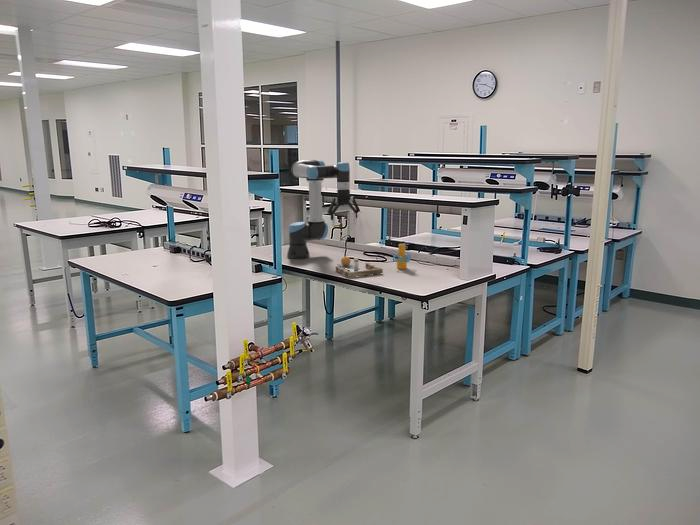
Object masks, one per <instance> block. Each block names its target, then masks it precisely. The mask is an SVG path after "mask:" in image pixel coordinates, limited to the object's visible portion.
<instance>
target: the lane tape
mask: <svg viewBox="0 0 700 525" xmlns="http://www.w3.org/2000/svg"><path fill="white" fill-rule="evenodd" d="M338 265H339V266H341V267H342V268H347V269H354V265H352V264H351V263H350V264H349V265H348V266H344V265H342V263H337V265H336V266H338ZM360 269H361V268H359V267H358V270H360Z"/></svg>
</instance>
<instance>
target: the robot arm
mask: <svg viewBox="0 0 700 525" xmlns="http://www.w3.org/2000/svg"><path fill="white" fill-rule="evenodd" d="M350 167H351V166H350V163H349V162H344V161H343V162H337V164H332V165H326V164H325V162H324V161H323V160H321V159H308V160H298V161H295V162H294V163H293V164H292V165H291V169H290V170H291V174H292V175H293V176H294V177H296V178H299V179H305V181H307V183H308V198H309V218H308V220H307V223H306V222H305V221H297V222H296V221H295V222H293V223H290V224H289V226H288V242H289V243H288V244H289V247H288V250H287V254H286V255H287V258H288V259H293V260H294V259H295V260H296V259H297V260H300V259H307V258H309V257H310V251H309V249H308V246H307V242H308V241H317V240H318V241H320V240H324V239H326V238H327V236H328V233H329V232H328V231H329V227H328V226H329V225H328V223H327V222H326V221H325V219H324V218H323V196H322V195H323V194H322V195H321V191H322V188H323V186H322V183H323V181H325V179H336V184H337V185H336V188H337V191H336V192H337V193H336V194H337V195H336V197H332V199H331V203H330V204H329V205H330V206H329V207H328V210H327V214H329V215H330V220H331V225H332V226H336V216H335V215H336V214H335V213H336V212H337V210H338V209H339V207H340V206H344V205H346V206H347V205H348V207H349V208H350V209H351V210H352V224H354V225H356V224H357V218H358V213H359V212H361V210H360V207H359V205H358V203H357V201H356V196H351V190H350V188H351V187H350V186H351V183H350V181H351V180H350V178H351V177H350V175H351V172H350ZM350 201H352V203H351V202H350ZM336 202H337V203H336ZM335 204H336V205H335ZM352 204H353V205H352Z"/></svg>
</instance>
